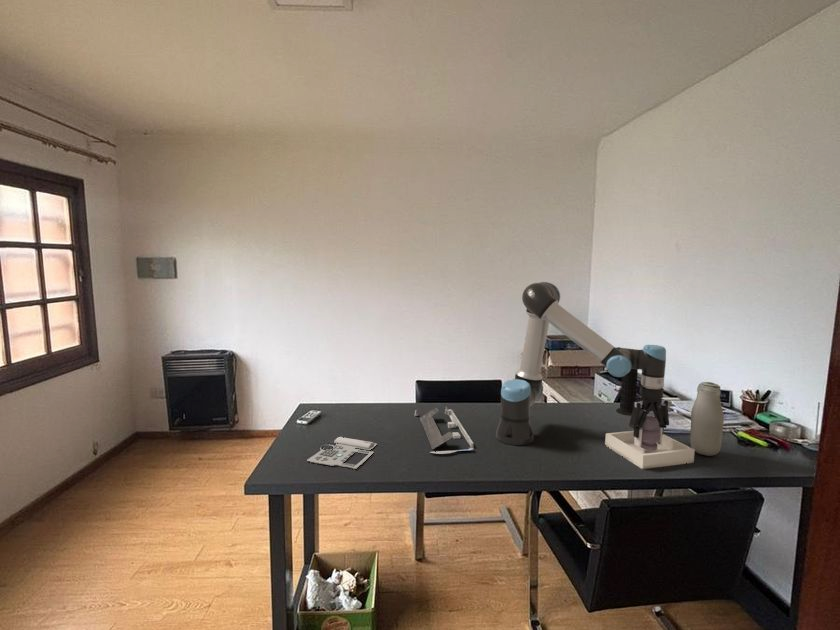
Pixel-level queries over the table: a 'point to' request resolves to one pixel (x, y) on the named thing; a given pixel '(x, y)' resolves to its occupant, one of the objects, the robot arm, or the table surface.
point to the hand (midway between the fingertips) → (647, 444)
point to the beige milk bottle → (707, 420)
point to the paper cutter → (435, 434)
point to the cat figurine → (650, 433)
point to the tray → (649, 451)
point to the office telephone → (343, 452)
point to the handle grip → (628, 392)
